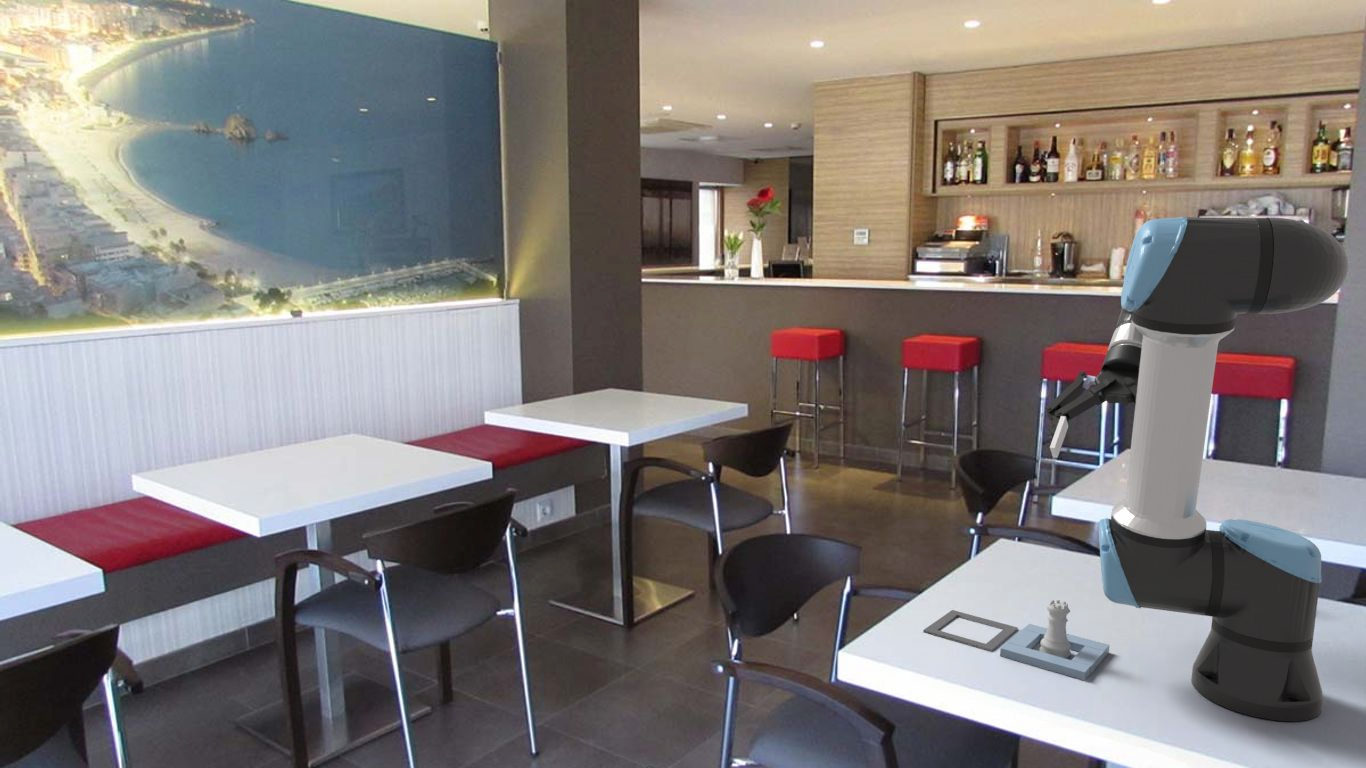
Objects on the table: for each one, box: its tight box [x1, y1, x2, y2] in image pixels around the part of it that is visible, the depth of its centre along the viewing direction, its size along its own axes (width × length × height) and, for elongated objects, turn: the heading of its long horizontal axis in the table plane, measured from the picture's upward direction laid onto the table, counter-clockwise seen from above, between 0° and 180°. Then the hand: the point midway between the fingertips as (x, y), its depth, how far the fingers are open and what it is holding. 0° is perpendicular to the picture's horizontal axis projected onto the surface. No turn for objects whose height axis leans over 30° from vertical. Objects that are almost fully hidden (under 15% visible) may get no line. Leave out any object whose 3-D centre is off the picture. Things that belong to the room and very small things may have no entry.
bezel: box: [922, 609, 1019, 652], centre depth 146 cm, size 11×11×1 cm
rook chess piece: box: [1039, 599, 1072, 659], centre depth 137 cm, size 4×4×8 cm
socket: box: [999, 623, 1110, 681], centre depth 138 cm, size 12×12×1 cm
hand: (1097, 459), depth 145 cm, fingers open, 13 cm apart
